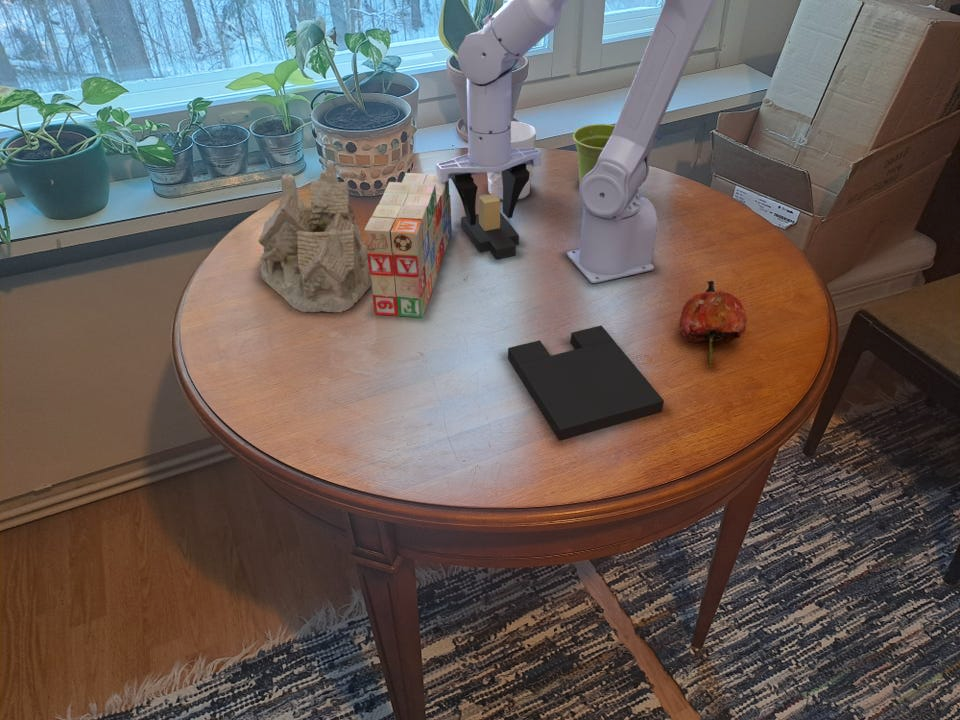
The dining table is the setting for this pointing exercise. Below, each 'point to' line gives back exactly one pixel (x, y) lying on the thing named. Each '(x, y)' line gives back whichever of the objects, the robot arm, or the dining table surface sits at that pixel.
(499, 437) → the dining table surface
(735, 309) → the pomegranate
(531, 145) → the white cup
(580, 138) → the plant pot
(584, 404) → the big pad
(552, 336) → the dining table surface
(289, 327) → the dining table surface
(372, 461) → the dining table surface
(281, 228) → the ceramic cottage
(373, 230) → the stack of blocks
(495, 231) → the small pad
